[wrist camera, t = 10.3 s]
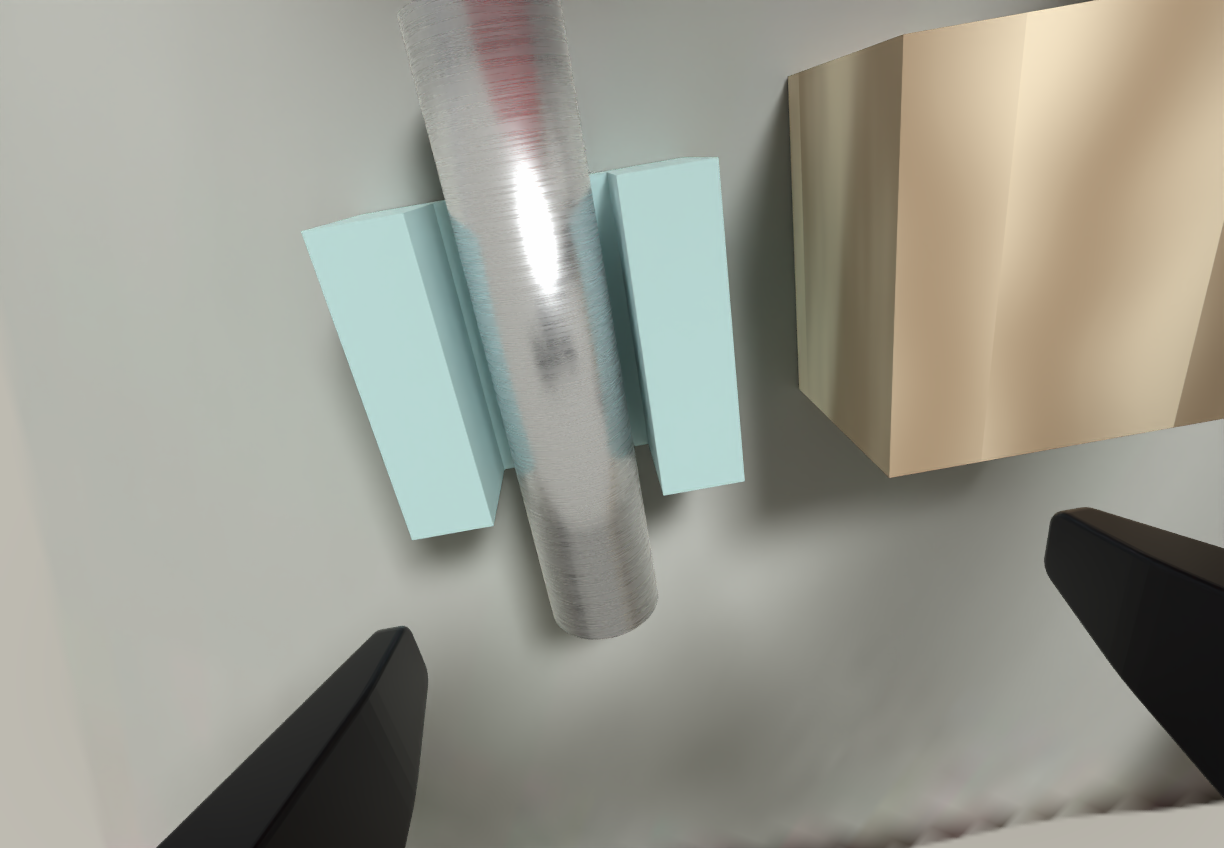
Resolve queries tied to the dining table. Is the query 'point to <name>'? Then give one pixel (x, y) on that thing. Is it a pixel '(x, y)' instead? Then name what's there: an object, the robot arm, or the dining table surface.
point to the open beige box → (1013, 232)
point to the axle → (538, 292)
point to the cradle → (456, 362)
